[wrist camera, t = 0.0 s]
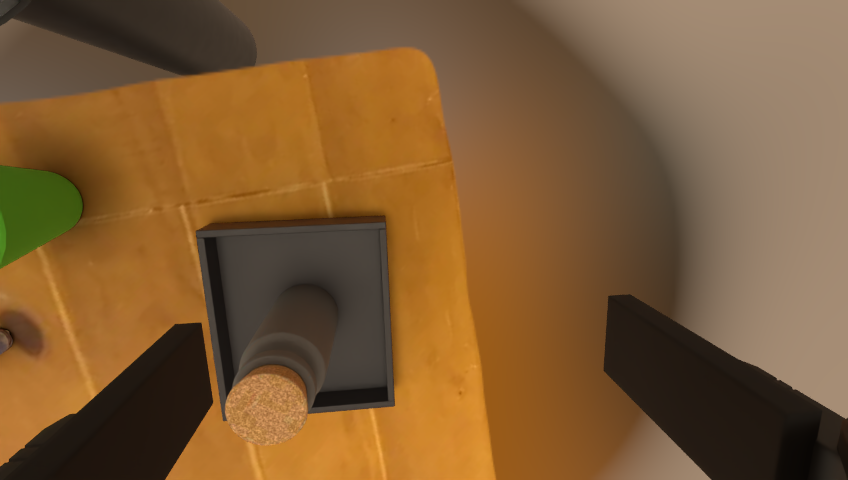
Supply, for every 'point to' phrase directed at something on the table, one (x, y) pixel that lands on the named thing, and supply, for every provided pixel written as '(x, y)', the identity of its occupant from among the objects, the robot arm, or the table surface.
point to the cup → (34, 210)
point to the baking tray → (294, 265)
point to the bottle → (283, 367)
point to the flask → (5, 340)
